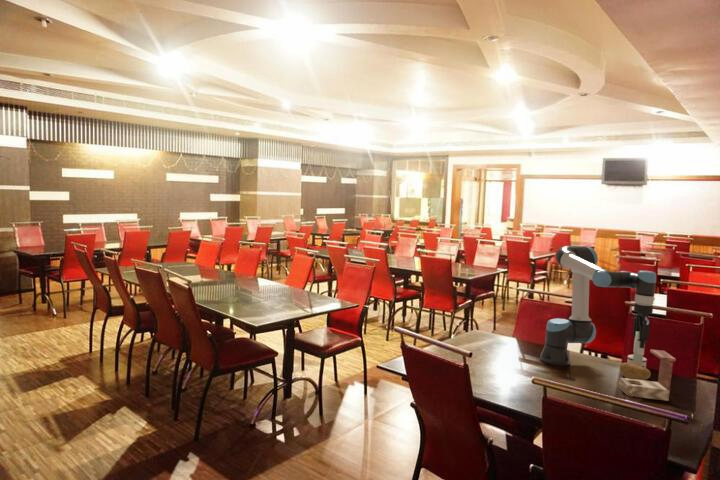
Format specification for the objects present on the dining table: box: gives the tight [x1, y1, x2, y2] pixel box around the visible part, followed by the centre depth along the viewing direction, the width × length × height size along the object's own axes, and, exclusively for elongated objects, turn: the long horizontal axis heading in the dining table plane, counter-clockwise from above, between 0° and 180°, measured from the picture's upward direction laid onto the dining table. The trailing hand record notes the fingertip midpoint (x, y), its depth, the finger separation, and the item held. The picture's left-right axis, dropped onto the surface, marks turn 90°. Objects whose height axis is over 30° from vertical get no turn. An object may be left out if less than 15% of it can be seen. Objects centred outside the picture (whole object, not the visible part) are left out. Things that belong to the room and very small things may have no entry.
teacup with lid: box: [626, 353, 648, 369], centre depth 253 cm, size 12×9×12 cm
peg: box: [632, 331, 644, 363], centre depth 224 cm, size 4×4×14 cm
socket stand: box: [618, 349, 677, 402], centre depth 224 cm, size 18×12×20 cm, turn 80°
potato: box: [619, 362, 652, 381], centre depth 243 cm, size 10×14×8 cm
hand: (638, 352), depth 224 cm, fingers closed on peg, 3 cm apart
